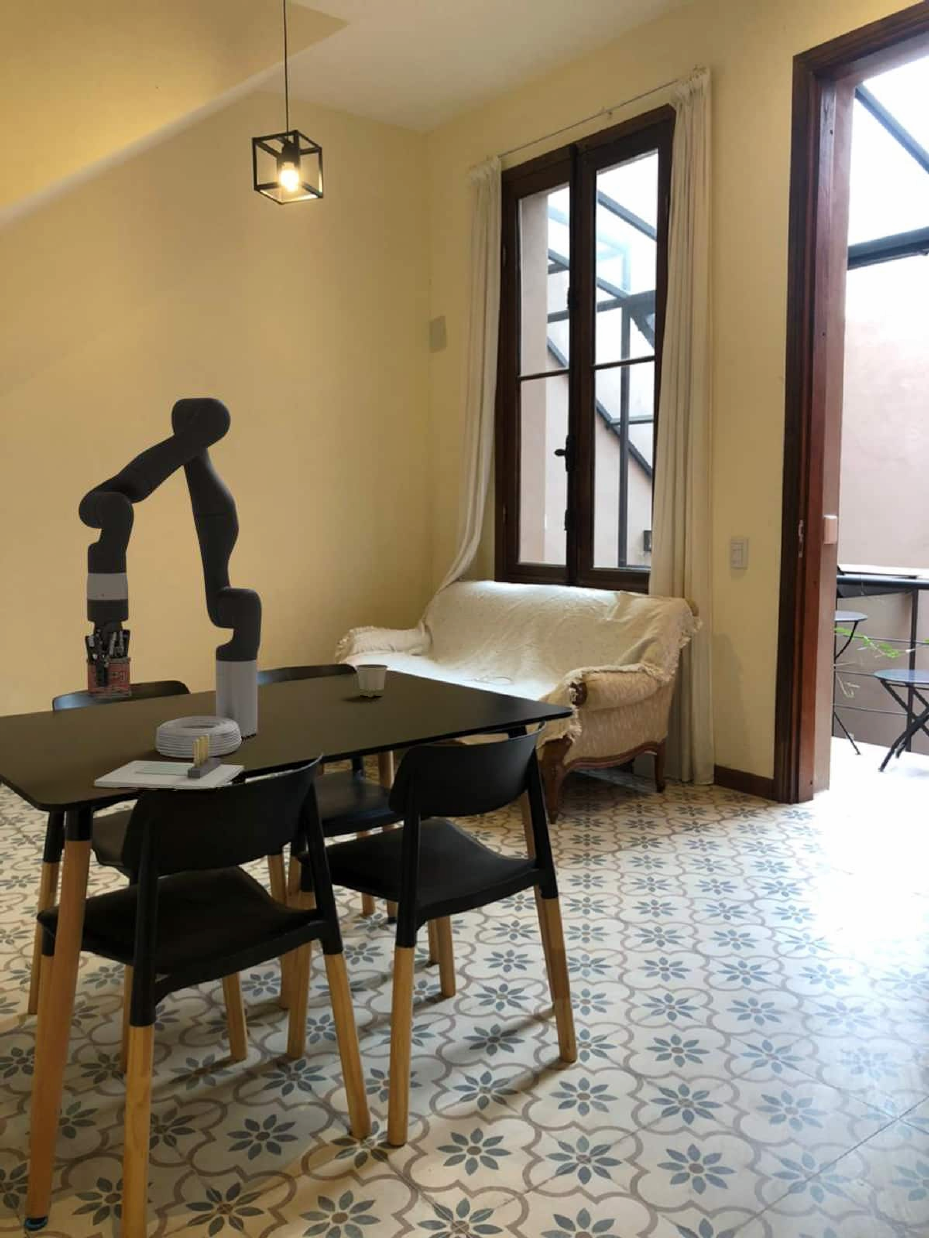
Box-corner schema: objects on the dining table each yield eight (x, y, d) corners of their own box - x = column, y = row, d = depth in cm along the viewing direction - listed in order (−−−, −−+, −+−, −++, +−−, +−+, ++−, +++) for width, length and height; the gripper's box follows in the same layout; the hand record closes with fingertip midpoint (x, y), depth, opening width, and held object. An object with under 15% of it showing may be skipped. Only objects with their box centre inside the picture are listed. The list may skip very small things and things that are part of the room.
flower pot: (354, 693, 280) (355, 663, 280) (387, 693, 281) (387, 663, 281) (354, 698, 271) (355, 668, 270) (388, 698, 272) (388, 668, 271)
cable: (216, 738, 217) (216, 712, 216) (257, 752, 204) (257, 724, 203) (141, 749, 205) (141, 721, 204) (180, 765, 192) (180, 734, 192)
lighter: (131, 694, 191) (130, 643, 190) (131, 696, 188) (130, 645, 187) (87, 695, 188) (86, 644, 187) (86, 698, 185) (85, 646, 184)
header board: (135, 765, 190) (134, 727, 189) (243, 770, 187) (243, 732, 187) (94, 786, 174) (93, 745, 173) (212, 792, 171) (212, 750, 171)
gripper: (108, 599, 179) (109, 691, 180) (143, 594, 193) (144, 679, 194) (69, 598, 180) (71, 690, 181) (107, 593, 194) (108, 678, 195)
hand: (109, 684), depth 188 cm, fingers closed on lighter, 4 cm apart
